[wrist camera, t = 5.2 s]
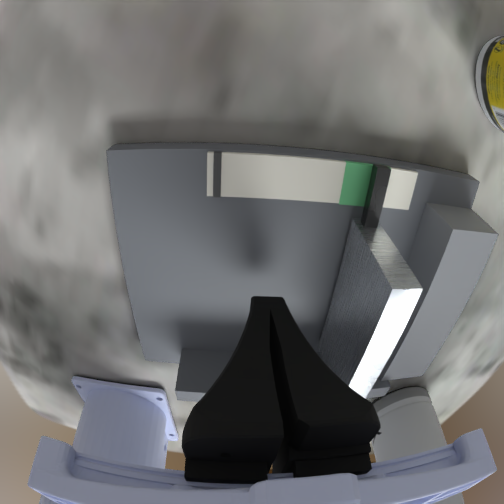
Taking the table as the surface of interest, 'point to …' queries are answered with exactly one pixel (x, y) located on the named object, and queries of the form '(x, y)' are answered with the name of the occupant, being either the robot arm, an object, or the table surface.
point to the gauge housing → (280, 246)
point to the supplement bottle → (492, 81)
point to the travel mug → (408, 428)
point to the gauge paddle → (368, 297)
